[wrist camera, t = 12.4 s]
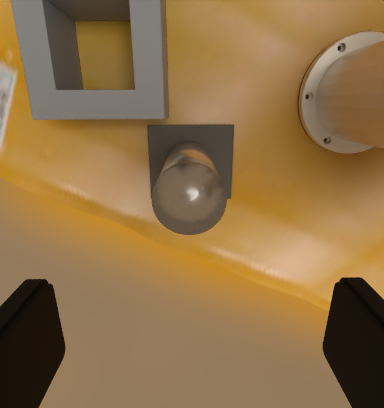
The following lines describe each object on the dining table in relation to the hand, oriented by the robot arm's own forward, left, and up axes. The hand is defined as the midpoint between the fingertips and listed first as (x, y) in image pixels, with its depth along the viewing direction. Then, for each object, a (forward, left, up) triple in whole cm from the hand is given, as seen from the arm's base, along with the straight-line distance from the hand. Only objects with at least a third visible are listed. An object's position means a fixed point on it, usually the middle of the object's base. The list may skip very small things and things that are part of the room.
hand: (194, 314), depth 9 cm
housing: (+8, -11, -26) cm, 30 cm away
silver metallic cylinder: (0, 0, -26) cm, 26 cm away
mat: (0, 0, -26) cm, 26 cm away
